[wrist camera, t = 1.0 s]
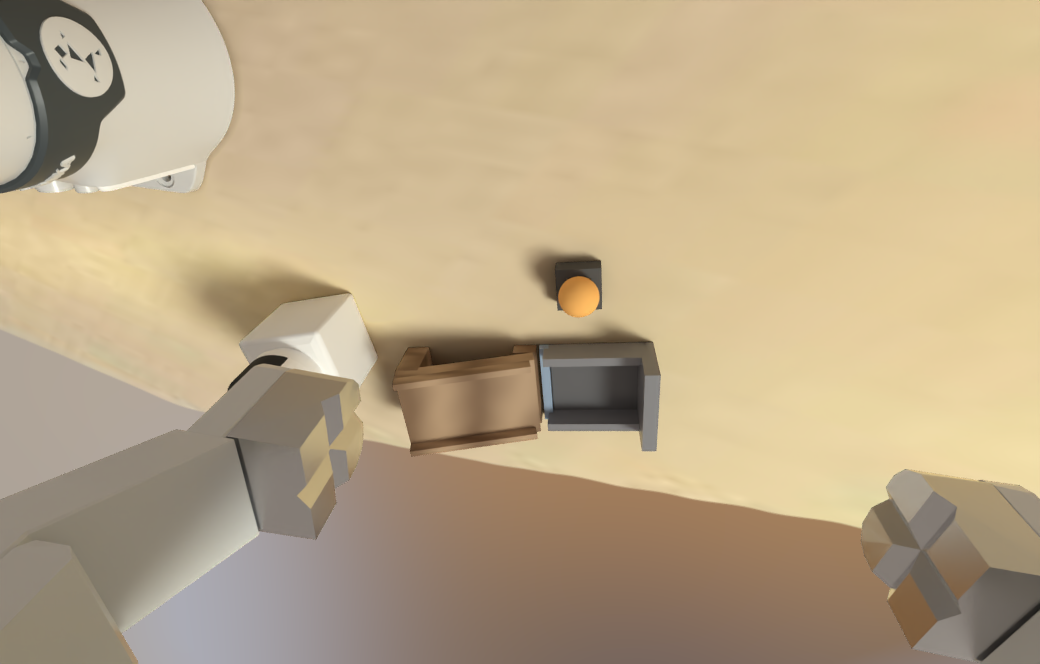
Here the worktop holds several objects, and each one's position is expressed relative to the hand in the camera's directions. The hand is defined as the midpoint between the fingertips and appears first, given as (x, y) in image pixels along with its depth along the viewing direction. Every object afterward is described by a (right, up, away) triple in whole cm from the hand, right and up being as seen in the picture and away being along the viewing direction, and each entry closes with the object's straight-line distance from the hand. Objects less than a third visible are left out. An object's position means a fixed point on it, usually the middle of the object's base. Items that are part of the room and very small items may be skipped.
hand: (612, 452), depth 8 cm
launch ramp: (-6, -3, +40) cm, 41 cm away
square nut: (+3, +6, +34) cm, 35 cm away
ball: (+3, +5, +32) cm, 32 cm away
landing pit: (+5, -3, +39) cm, 39 cm away
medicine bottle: (-19, +2, +39) cm, 44 cm away
